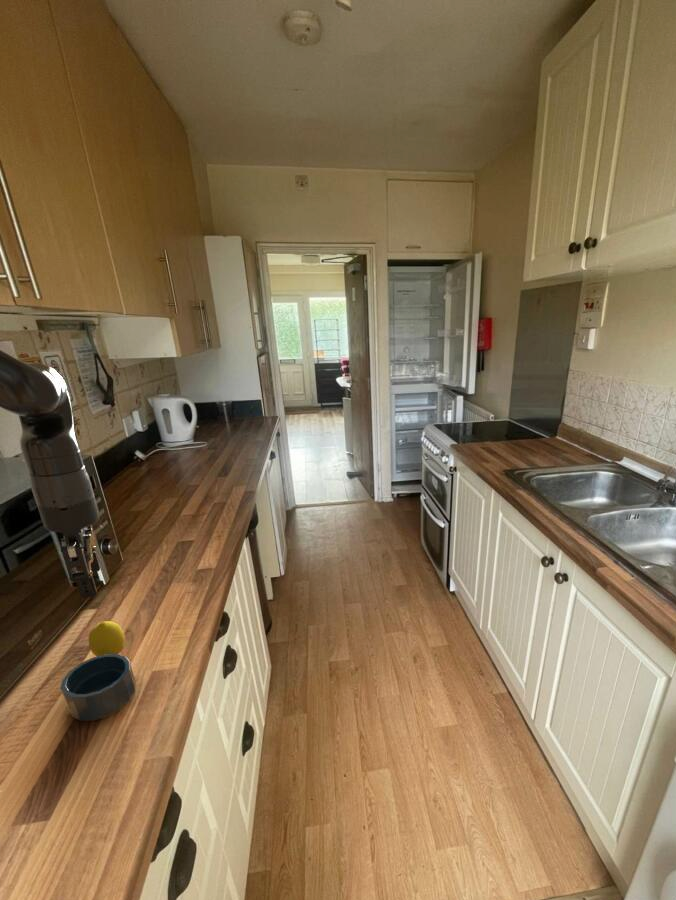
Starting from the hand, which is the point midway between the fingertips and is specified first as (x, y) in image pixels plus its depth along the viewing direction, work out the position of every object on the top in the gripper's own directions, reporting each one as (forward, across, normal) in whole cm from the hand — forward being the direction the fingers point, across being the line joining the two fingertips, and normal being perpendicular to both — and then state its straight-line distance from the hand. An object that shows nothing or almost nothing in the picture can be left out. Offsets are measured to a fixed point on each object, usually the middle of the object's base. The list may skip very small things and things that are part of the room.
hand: (91, 583), depth 74 cm
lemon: (+16, 0, 0) cm, 16 cm away
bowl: (+16, +11, -1) cm, 20 cm away
